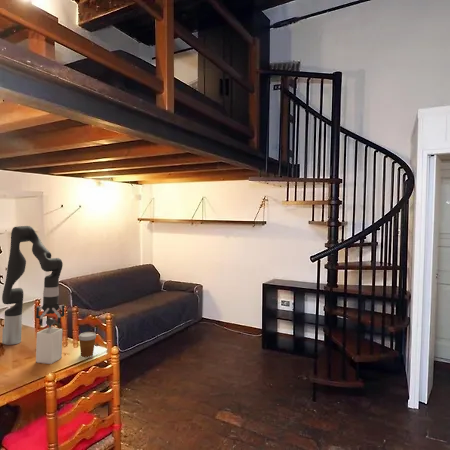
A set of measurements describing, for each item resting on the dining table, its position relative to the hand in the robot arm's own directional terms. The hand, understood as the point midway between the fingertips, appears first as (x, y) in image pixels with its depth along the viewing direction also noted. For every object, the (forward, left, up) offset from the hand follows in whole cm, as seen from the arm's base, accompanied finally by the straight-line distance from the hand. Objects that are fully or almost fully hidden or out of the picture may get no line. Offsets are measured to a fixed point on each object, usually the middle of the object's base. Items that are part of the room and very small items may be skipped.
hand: (50, 324), depth 193 cm
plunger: (0, 0, -14) cm, 14 cm away
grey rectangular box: (0, +2, -19) cm, 19 cm away
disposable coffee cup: (+16, +11, -19) cm, 27 cm away
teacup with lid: (-13, +20, -19) cm, 31 cm away
